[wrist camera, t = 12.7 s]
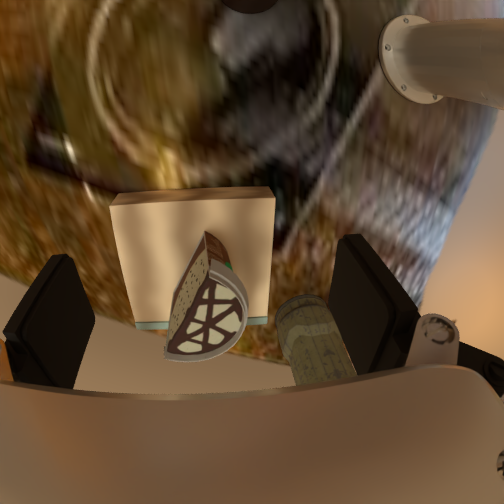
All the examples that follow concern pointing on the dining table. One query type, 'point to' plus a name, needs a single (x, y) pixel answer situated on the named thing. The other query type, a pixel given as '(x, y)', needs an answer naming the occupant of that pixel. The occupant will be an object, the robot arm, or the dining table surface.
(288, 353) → the thermos
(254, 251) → the dock
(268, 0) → the bottle
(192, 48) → the dining table surface
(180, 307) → the food container
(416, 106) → the dining table surface
